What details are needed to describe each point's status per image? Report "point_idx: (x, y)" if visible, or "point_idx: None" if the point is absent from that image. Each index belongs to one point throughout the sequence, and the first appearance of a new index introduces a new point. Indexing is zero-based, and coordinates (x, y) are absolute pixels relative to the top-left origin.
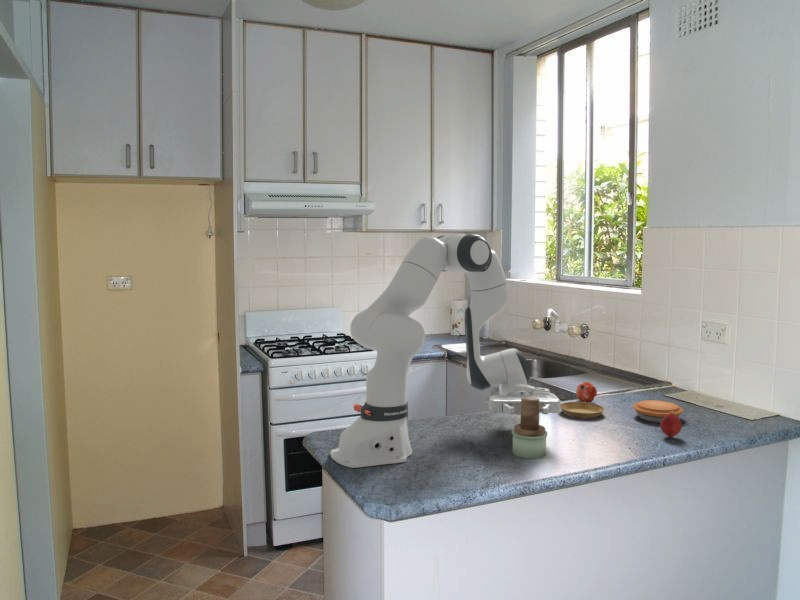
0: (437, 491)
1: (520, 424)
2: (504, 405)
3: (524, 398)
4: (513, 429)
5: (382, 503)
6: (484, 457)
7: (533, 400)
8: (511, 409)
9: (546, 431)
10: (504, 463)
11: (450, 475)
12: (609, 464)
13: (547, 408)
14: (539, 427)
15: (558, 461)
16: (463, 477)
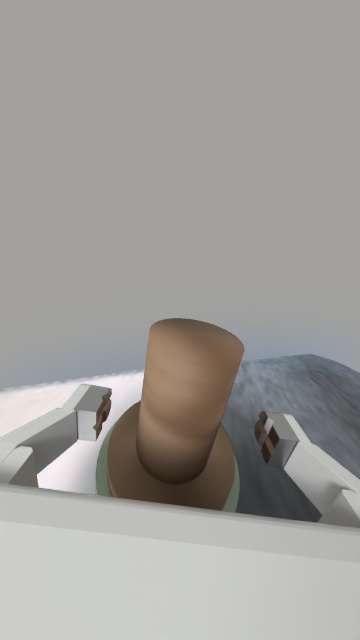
0: (289, 364)
1: (206, 504)
2: (355, 480)
3: (226, 347)
4: (235, 502)
5: (320, 357)
6: (286, 475)
7: (185, 325)
8: (275, 413)
9: (100, 449)
10: (231, 427)
11: (301, 394)
12: (13, 390)
13: (86, 385)
14: (131, 439)
15: (110, 421)
16: (280, 386)
